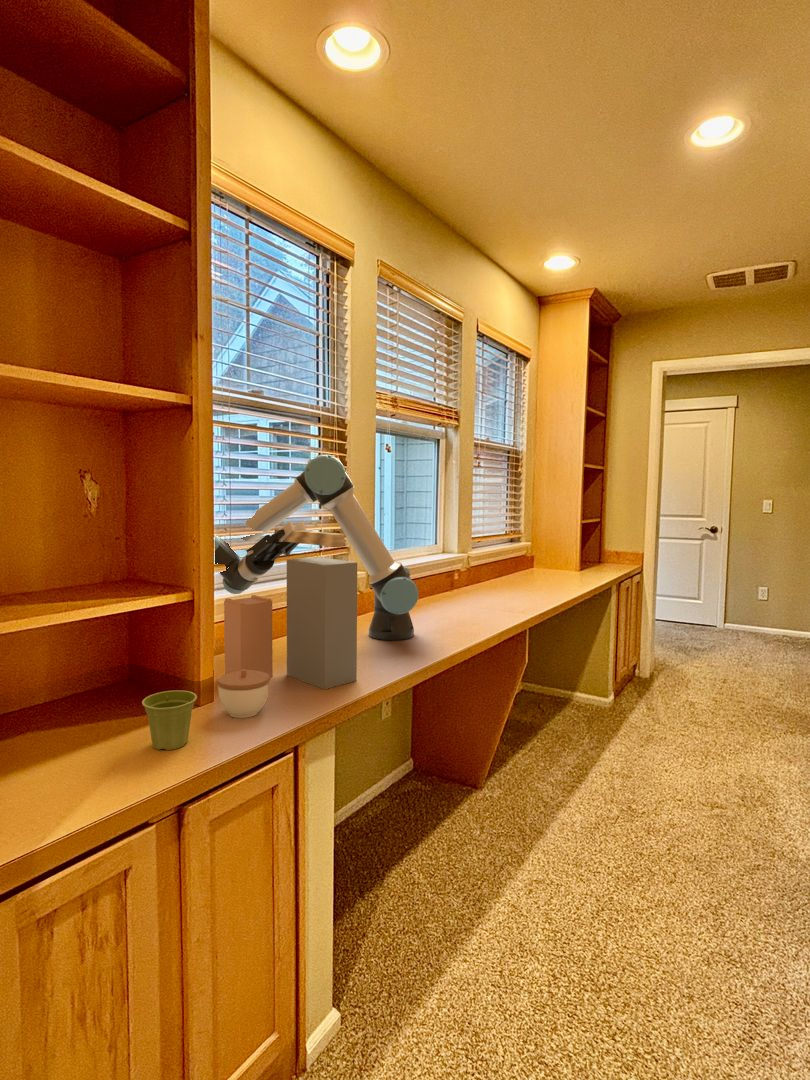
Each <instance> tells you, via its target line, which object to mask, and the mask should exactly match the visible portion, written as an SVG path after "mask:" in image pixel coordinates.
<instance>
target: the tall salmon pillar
mask: <svg viewBox="0 0 810 1080" xmlns="http://www.w3.org/2000/svg"><path fill="white" fill-rule="evenodd" d="M223 615H224V616H223V617H224V618H223V621H224V622H223V623H224V626H223V627H224V628H223V629H224V631H223V633H224V638H223V639H224V640H223V641H224V674H227V673H230V672H235V671H241V670H242V669H246V670H255V671H262V672H265V673H267V674H268V675H269V676H270V678H271V677H273V675H274V674H273V673H274V672H273V600H272V598H268V597H263V596H259V595H255V594H254V595H251V597H245V598H244V597H243V598H234V599H232V598H224V600H223Z"/></svg>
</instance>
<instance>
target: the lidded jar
mask: <svg viewBox="0 0 810 1080" xmlns="http://www.w3.org/2000/svg"><path fill="white" fill-rule="evenodd" d="M270 678H271V677H270V676H269V675H268V674H267V673H265V672H262V671H255V670H246V669H242V670H241V671H235V672H230V673H227V674H225V673H224V674H222V675H220V676H219V677H218V678H217V689H218V690H217V691H218V693H217V694H218V699H219V702H220V705H221V707H222V708H223V710H224V711H225V712H226V713H227V714H228V715H229V716H230V717H232V718H234V719H235V718H236V719H248V718H251V717H254V716H257V715H258V714H259V712H260V711H261V710H262V709H263V708H264V706H265V704H266V703H267V700H268V699H269V691H270V680H271V679H270Z"/></svg>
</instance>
